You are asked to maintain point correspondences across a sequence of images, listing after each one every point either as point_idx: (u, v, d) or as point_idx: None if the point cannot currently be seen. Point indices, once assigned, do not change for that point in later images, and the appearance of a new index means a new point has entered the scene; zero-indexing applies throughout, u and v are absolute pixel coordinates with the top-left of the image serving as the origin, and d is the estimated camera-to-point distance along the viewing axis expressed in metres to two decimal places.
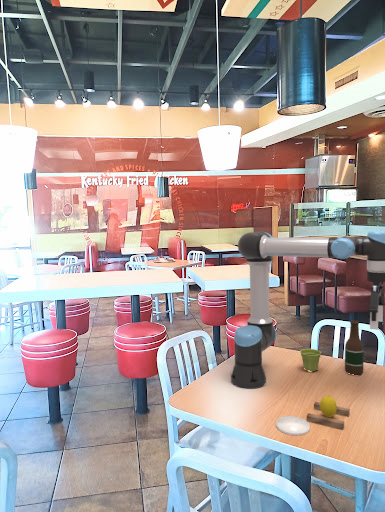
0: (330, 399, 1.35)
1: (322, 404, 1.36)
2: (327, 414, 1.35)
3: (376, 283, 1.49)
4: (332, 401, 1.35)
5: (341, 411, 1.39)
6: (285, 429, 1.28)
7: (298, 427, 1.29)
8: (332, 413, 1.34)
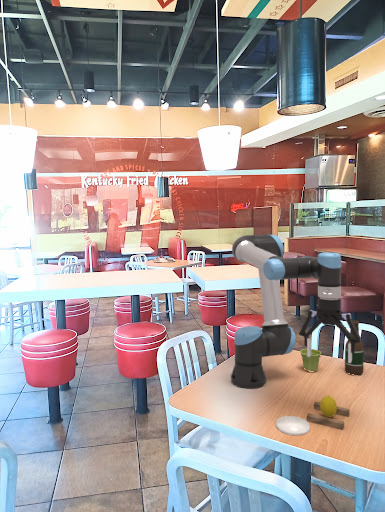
0: (330, 399, 1.35)
1: (322, 404, 1.36)
2: (327, 414, 1.35)
3: (318, 309, 1.36)
4: (332, 401, 1.35)
5: (341, 411, 1.39)
6: (285, 429, 1.28)
7: (298, 427, 1.29)
8: (332, 413, 1.34)
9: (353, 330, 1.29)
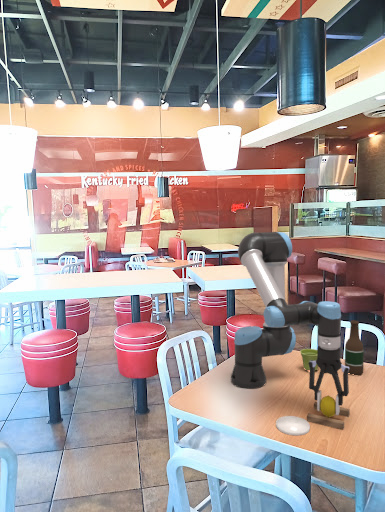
0: (330, 399, 1.35)
1: (322, 404, 1.36)
2: (327, 414, 1.35)
3: (317, 357, 1.37)
4: (332, 401, 1.35)
5: (341, 411, 1.39)
6: (285, 429, 1.28)
7: (298, 427, 1.29)
8: (332, 413, 1.34)
9: (345, 384, 1.32)
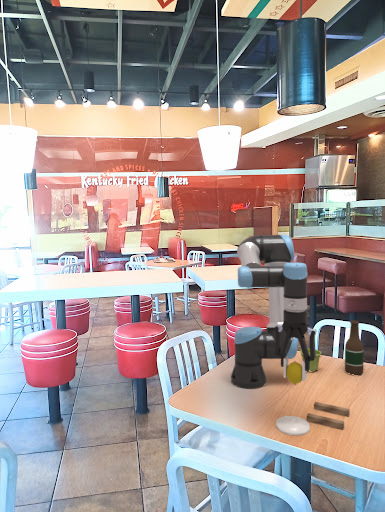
0: (296, 365, 1.29)
1: (288, 370, 1.29)
2: (293, 380, 1.28)
3: None
4: (299, 367, 1.28)
5: (341, 411, 1.39)
6: (285, 429, 1.28)
7: (298, 427, 1.29)
8: (298, 379, 1.28)
9: (312, 347, 1.26)
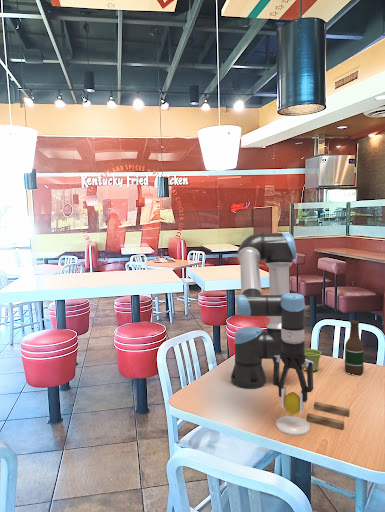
0: (294, 395, 1.29)
1: (286, 401, 1.30)
2: (291, 411, 1.29)
3: None
4: (296, 397, 1.29)
5: (341, 411, 1.39)
6: (285, 429, 1.28)
7: (298, 427, 1.29)
8: (296, 410, 1.28)
9: (309, 379, 1.26)
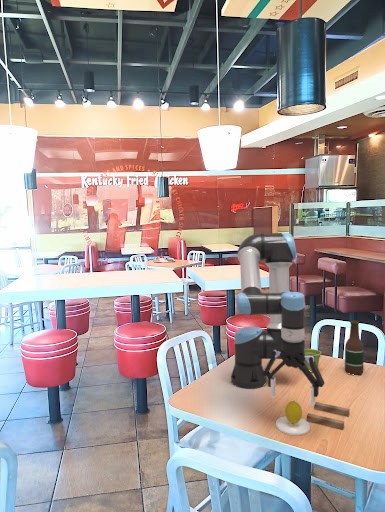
0: (295, 405, 1.29)
1: (287, 410, 1.30)
2: (291, 420, 1.29)
3: None
4: (297, 407, 1.29)
5: (341, 411, 1.39)
6: (285, 429, 1.28)
7: (298, 427, 1.29)
8: (296, 419, 1.29)
9: (316, 374, 1.25)
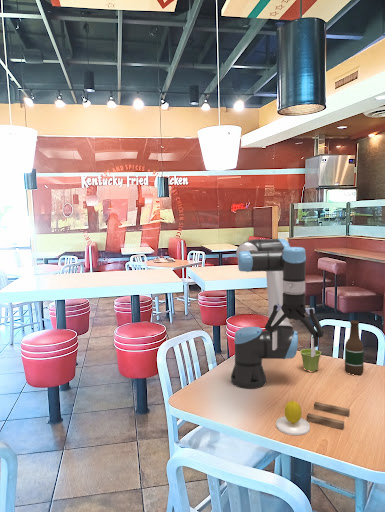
0: (294, 404, 1.30)
1: (286, 409, 1.30)
2: (291, 420, 1.29)
3: None
4: (296, 406, 1.29)
5: (341, 411, 1.39)
6: (285, 429, 1.28)
7: (298, 427, 1.29)
8: (296, 419, 1.29)
9: (316, 325, 1.30)
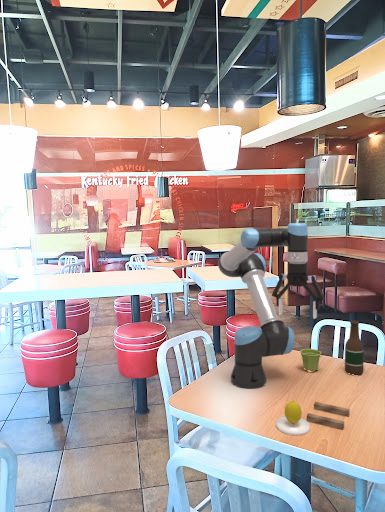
0: (294, 404, 1.30)
1: (286, 409, 1.30)
2: (291, 420, 1.29)
3: None
4: (296, 406, 1.29)
5: (341, 411, 1.39)
6: (285, 429, 1.28)
7: (298, 427, 1.29)
8: (296, 419, 1.29)
9: (317, 289, 1.48)
